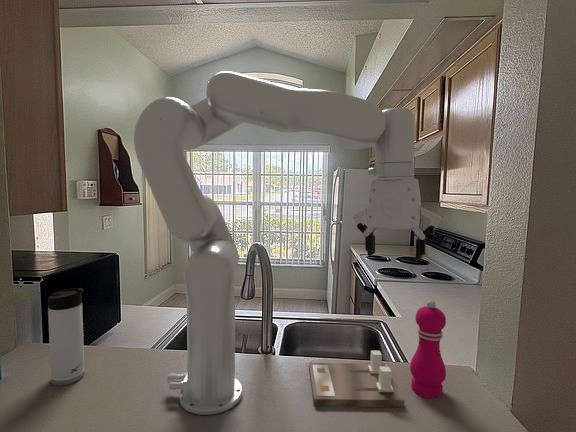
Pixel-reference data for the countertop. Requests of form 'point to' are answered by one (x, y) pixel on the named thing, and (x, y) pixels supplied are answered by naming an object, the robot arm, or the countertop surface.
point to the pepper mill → (428, 353)
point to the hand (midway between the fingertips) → (394, 256)
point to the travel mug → (66, 336)
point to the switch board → (350, 386)
